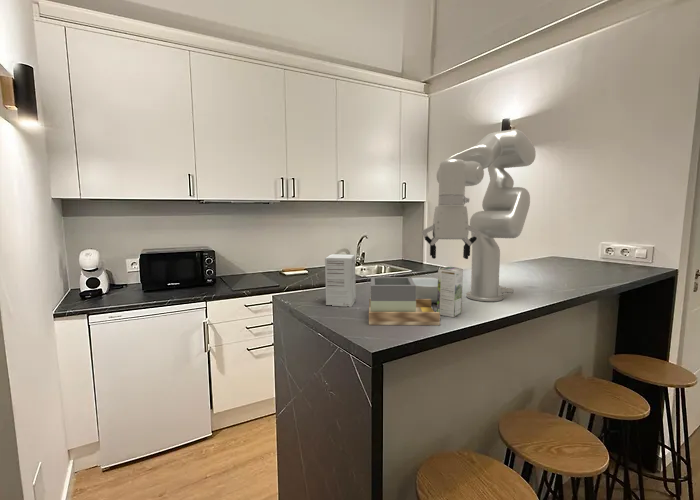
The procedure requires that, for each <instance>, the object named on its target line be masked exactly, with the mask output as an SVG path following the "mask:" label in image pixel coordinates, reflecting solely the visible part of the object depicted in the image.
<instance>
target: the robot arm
mask: <svg viewBox="0 0 700 500" xmlns="http://www.w3.org/2000/svg"><path fill="white" fill-rule="evenodd" d="M536 155H537V154H536V148H535V146H534V144H533V142H532V140H531V139H529V137H528V136H527V135H526V134H525V133H524V131H522V130H519V129H516V128H512V129H508V130H507V129H506V130H500V131H494V132H490V133H488V134H486V135H485V136H483V138H482V139H480V140H479V141H478V142H476V144H475V145H474V146H471V147H469V148H467V149H465V150H462V151H461V152H458V153H455V154H453V155H452V156H449V157H448V158H447V159H444V160H442V161H440V163H439V166H438V168H437V171H436V182H437V183H438V203H437V204H438V205H437V206H435V207H434V212H433V221H432V225H430V226H429V227H426V228H424V229H423V230H421V235H422V236H423V238H424V240H425V241H426V242H427V243H428V244H429V256H431V259H435V260H436V258H437V246H436V243H437V242H438V241H439V240H462V241H463V243H464V245H463V250H462V251H463V252H462V254H463V256H462V257H463V259H465V260H468V259H469V257H470V256H471V275H470V277H471V279H470V280H471V282H470V291H468V292H467V293H466V297H467V299H470V300H473V301H479V302H498V301H499V302H500V301H502V300H503V299H504V294H514V289H513V288H512V287H506V286H504V287H502V286H501V285H500V267H501V266H500V262H501V261H500V260H501V249H500V246H499V244H498V243H497V241H496V240H495V239H516V238H518V237H519V236H520V235H521V233H522V231H523V228H524V226H525V222H526V220H527V217H528V212H529V210H530V205H531V194H530V192H529V191H528V189H527V188H525V187H523V186H522V187H520V186H515V187H514V184H515V183H514V179H513V177H512V176H511V174H510V173H509V172H507V171H506V170H505V169H509V168H510V169H511V168H522V167H529V166H531V165H532V164H534V161H535V160H536ZM485 169H487V171H488V175H489V182H488V186H487V188H486V191H485V194H484V196H483V198H482V209H483V210H480V211H477V212H475V213H473V214H472V216H471V217H470V218H469V216H468V215H469V213H468V208H467V205H466V206H465V204H466V203H467V204H468V203H470V198H469V197H466V195H465V194H466V193H465V192H466V190H465V189H466V187H474V186H477V185H479V184H480V183H481V182H482V181H483V179H484V175H485V171H484V170H485ZM430 232H432V238H430V237H429V235H428V233H430ZM469 232H470V234H471V235H470V236H471V237H470V238H469Z"/></svg>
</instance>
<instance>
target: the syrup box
mask: <svg viewBox="0 0 700 500" xmlns="http://www.w3.org/2000/svg"><path fill="white" fill-rule="evenodd" d="M437 272H438V273H437V278H438V294H437V302H436V312H439V313H440V316H444V317H451V318H455V317H457V316H459V315H461V314H462V308H463V307H462V304H463V303H462V302H463V277H464V269H463V268H461V267H456V266H445V267H442V268H439V269H437Z"/></svg>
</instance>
